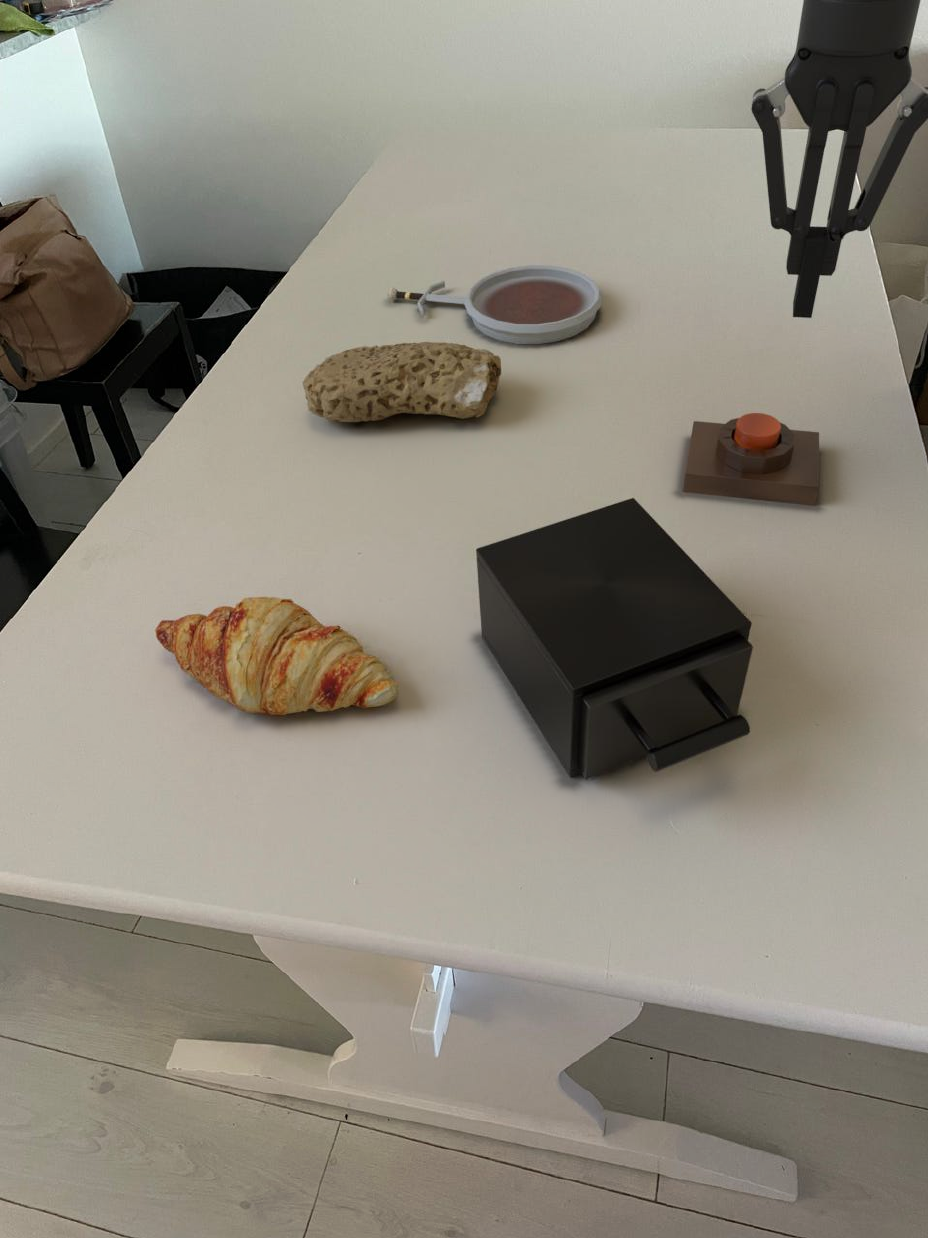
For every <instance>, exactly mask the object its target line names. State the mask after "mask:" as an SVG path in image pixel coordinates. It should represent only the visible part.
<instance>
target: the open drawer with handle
mask: <svg viewBox="0 0 928 1238" xmlns="http://www.w3.org/2000/svg"><path fill="white" fill-rule="evenodd" d="M753 648H754V646H753V644H752V643H751V642H750V641H749V639H748V640H747V639H746V638H745V637H744V636H743V635H742V636H740V637H737V638H734V639H732V640H729V641H726V642H724V643H721V644H719V643H716V644H713V645H711V646H708V647H705V648H703V649H700V650H697V651H695V652H692V653H689V654H687V655H684V656H681V657H679V658H676V659H673V660H671V661H668V662H666V663H663V664H660V665H658V666H655V667H652V668H650V669H647V670H644V671H642V672H639V673H636V674H634V675H631V676H628V677H626V678H623V679H621V680H618V681H615V682H613V683H610V684H607V685H605V686H602V687H599V688H597V689H594V690H591V691H589V692H586V693H583V696H582V697H581V717H580V740H579V762H578V768H579V770H580V771H581V774H582V776H583V777H584V779H585V780H590V779H592V778H595V777H597V776H600V775H602V774H604V773H607V772H609V771H612V770H614V769H617V768H619V767H621V766H624V765H627V764H630V763H632V762H635V761H637V760H640V759H642V758H644V757H646V760H647V764H648V766H649V767H650V768H651V770H652V771H653V772H654V773H657V772H660V771H662V770H665V769H667V768H670V767H673V766H675V765H677V764H679V763H682V762H685V761H687V760H689V759H692V758H694V757H697V756H699V755H701V754H705V753H707V752H709V751H711V750H714V749H717V748H719V747H722V746H724V745H726V744H729V743H731V742H734V741H736V740H738V739H741V738H743V737H745V736H748V735H750V733H751V727H750V724H749V722H748V720H747V718H746V717H745V716H744V715H742V714H738V713H739V709H740V704H741V700H742V697H743V692H744V688H745V683H746V680H747V675H748V671H749V666H750V661H751V657H752V653H753Z"/></svg>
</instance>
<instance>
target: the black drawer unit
mask: <svg viewBox="0 0 928 1238" xmlns="http://www.w3.org/2000/svg"><path fill="white" fill-rule="evenodd" d="M475 553H476V569H477V585H478V599H479V612H480V613H479V614H480V615H479V616H480V626H481V627H480V631H481V638H482V640H483V641H484V643H485V645H486V646H487V648H488V649H489V651H490V653H491V654H492V656H493V657H494V659H495V660H496V662H497V664H498V665H499V667H500V669H501V670H502V671H503V674H505V676H506V678H507V679H508V681H509V682H510V684H511V685H512V688H513V690H515V692H516V694H517V696H518V698H519V699H520V700H521V702H522V703H523V705H524V707H525V709H526V710H527V712H528V713H529V715H530V716H531V717H532V720H533V721H534V722H535V724H536V726H537V727H538V729H539V730H540V732H541V734H542V735H543V737H544V738H545V740H546V742H547V743H548V745H549V746H550V748H551V750H552V751H553V752H554V754H555V756H556V758H557V759H558V761H559V762H560V764H561V765H562V767H563V768H564V771H565V772H566V774H567V775H568V777H569V778H573V777H575V776H578V775H581V774H582V773H581V771H580V770H579V768H578V762H579V740H580V717H581V697H582V696H583V693H586V692H589V691H591V690H594V689H597V688H599V687H602V686H605V685H607V684H610V683H613V682H615V681H618V680H621V679H623V678H626V677H628V676H631V675H634V674H636V673H639V672H642V671H644V670H647V669H650V668H652V667H655V666H658V665H660V664H663V663H666V662H668V661H671V660H673V659H676V658H679V657H681V656H684V655H687V654H689V653H692V652H695V651H697V650H700V649H703V648H705V647H708V646H711V645H713V644H716V643H719V644H721V643H724V642H726V641H729V640H732V639H734V638H737V637H740V636H742V635H743V636H744V637H745V638H746V639H747V640H748V641H749V639H750V638H749V637H750V633H751V629H752V621H751V620H750V619H749V618H748V616H746V615H745V614H744V613H743V612H742V611H741V610H740V608H738V607H737V606H736V605H735V603H734V602H733V601H732V600H731V599H730V598H729V597H728V596H727V595H726V594H725V593H724V591H723V590H722V589H720V587H719V586H718V585H717V584H716V583H715V582H714V581H713V580H712V579H711V578H710V577H709V576H708V574H706V573H705V572H704V570H703V569H702V568H701V567H700V566H699V565H698V564H697V563H696V562H695V561H694V560H693V558H691V557H690V556H689V554H688V553H687V552H685V550H683V548H682V547H681V546H680V545H679V544H678V542H676V541H675V540H674V539H673V538H672V537H671V535H669V533H668V532H667V531H665V529H664V528H663V527H662V526H661V525H660V524H659V523H658V522H657V521H656V520H655V518H653V516H652V515H650V513H649V512H648V511H647V510H646V509H645V508H644V507H643V506H642V505H641V503H640V502H638V500H637V499H635V498H634V497H631V498H628V499H625V500H621V501H618V502H616V503H613V504H610V505H607V506H603V507H600V508H598V509H594V510H591V511H588V512H585V513H582V514H579V515H576V516H573V517H572V516H571V517H569V518H566V519H563V520H560V521H558V522H554V523H550V524H548V525H545V526H542V527H539V528H536V529H532V530H530V531H527V532H524V533H521V534H517V535H514V536H511V537H508V538H505V539H502V540H498V541H496V542H493V543H489V544H486V545H484V546H483V545H482V546H480V547H477V548H476V549H475Z"/></svg>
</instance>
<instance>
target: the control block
mask: <svg viewBox="0 0 928 1238" xmlns="http://www.w3.org/2000/svg"><path fill="white" fill-rule="evenodd" d="M739 418H740V417H737V418H732V419H730V420H728V421H727V422H725V423H720V422H711V421H710V422H709V421H698V420H694V421H693V423H692V428H691V435H690V442H689V447H688V453H687V459H686V465H685V472H684V480H683V485H682V486H683V488H682V492H683V493H691V494H699V495H709V496H717V497H718V496H719V497H727V498H738V499H744V500H745V499H746V500H756V501H764V502H765V501H766V502H775V503H785V504H791V505H792V504H794V505H803V506H812V507H814V506H815V505H816V501H817V497H818V493H819V490H820V432H819V431H810V430H809V431H808V430H797V429H790V428H789V427H788V425H786V424H785V423H782V422H780V425H781V430H780V434H779V439H778V443H777V445H776V446H775V447H774V448H773V449H768V450H763V451H759V450H749V449H746V448H744V447H742V446H739V445H737V444H736V443H735V440H734V435H735V430H736V424H737V421H738V419H739Z"/></svg>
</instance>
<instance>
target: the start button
mask: <svg viewBox="0 0 928 1238" xmlns="http://www.w3.org/2000/svg"><path fill="white" fill-rule="evenodd" d="M738 418H739V419H738V421H737V424H736V430H735V435H734V440H735V443H736V444H737V445H739V446H742V447H744V448H746V449H749V450H759V451H763V450H768V449H773V448H774V447H775V446H776V445H777V443H778V439H779V434H780V430H781V425H780V423H781V422H780V421H779V419H777V418H776V417H774V416H773V415H770V414H766V413H763V412H762V413H761V412H751V413H746V414H743V415H741V416H740V417H738Z"/></svg>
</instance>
